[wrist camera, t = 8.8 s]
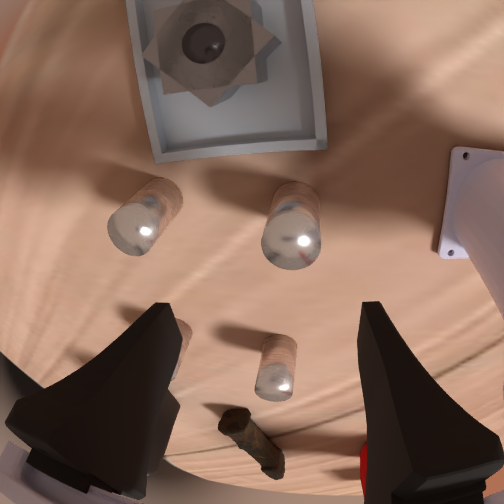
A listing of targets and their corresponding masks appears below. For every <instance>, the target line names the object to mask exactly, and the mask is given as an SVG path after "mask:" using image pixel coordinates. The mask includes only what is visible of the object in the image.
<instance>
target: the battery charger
mask: <svg viewBox="0 0 504 504" xmlns="http://www.w3.org/2000/svg"><path fill="white" fill-rule="evenodd" d="M179 409H180V404H179V403H178V402H177V400H176V399H175V398H174V397H173V395H172V394H171V393H170V392H169V391H168V390H167V392H166V394H165V397H164V400H163V402H162V405H161V408H160V411H159V414H158V418H157V422H156V426H155V431H154V435H153V440H152V446H151V451H150V458H149V465H148V472H147V475H154V474H155V473H156V472H157V471H158V469H159V467H160V464H161V462H162V459H163V457H164V454H165V451H166V448H167V445H168V442H169V439H170V435H171V432H172V429H173V426H174V423H175V420H176V417H177V414H178V412H179Z"/></svg>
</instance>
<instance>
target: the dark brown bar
mask: <svg viewBox="0 0 504 504" xmlns="http://www.w3.org/2000/svg"><path fill="white" fill-rule="evenodd" d="M250 416H251V413H250V411H249V410H248V409H230V410H227V411H225V412H224V413H223V415H222V418H221V420H220V422H219V424H218V430H219V431H220V432H221V433H223V434H224V435H227V436H229V437H231V438H232V439H233V440H234V441H235V442H236V443H237V444H238V447H239V448H240V449H243V450H245V451H246V452H247V453H248V454H249V455H251V456H252V457H253V458H254V459H255V460H256V461H257V462H258V463H259V464H260V465H261V471H262V472H264V473H265V474H266V475H268V477H270V478H272V479H275V480H278V479H282V478H283V476H284V473H285V458H284V454H283V453H282V450H281V449H280V448H275V447H274V446H273V444H272V443H271V442H270V440H268V439H267V438H266V437H265V436H264V434H263V433H262V432H261V430H260V429H259V428H258V427H257V426H256V425H255V424H254V423H253V422H252V421H251V419H250Z"/></svg>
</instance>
